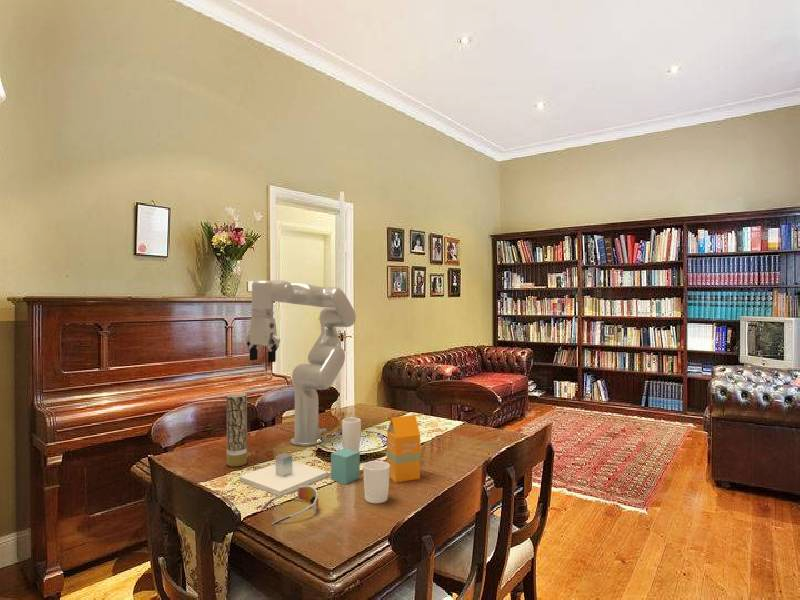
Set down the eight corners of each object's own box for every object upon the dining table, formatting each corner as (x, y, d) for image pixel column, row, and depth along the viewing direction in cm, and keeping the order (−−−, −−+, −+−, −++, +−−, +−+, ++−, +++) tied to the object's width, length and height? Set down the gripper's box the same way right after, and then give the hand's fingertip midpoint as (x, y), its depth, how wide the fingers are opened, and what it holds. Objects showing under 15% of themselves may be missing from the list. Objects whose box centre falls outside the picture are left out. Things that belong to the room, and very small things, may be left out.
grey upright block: (284, 471, 163) (284, 453, 163) (292, 473, 161) (292, 455, 161) (275, 474, 160) (275, 456, 160) (283, 477, 158) (283, 458, 158)
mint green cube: (344, 473, 165) (344, 448, 165) (359, 478, 161) (359, 451, 161) (330, 479, 160) (330, 453, 160) (345, 484, 156) (345, 457, 156)
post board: (287, 463, 174) (287, 459, 174) (327, 476, 162) (327, 471, 162) (239, 480, 158) (239, 476, 158) (280, 496, 146) (280, 491, 146)
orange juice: (386, 474, 165) (386, 415, 164) (410, 470, 168) (410, 412, 168) (395, 482, 157) (395, 420, 157) (420, 478, 161) (420, 418, 161)
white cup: (379, 506, 140) (380, 471, 139) (357, 500, 144) (357, 466, 144) (394, 497, 146) (394, 463, 146) (373, 491, 150) (373, 459, 150)
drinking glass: (363, 458, 180) (363, 418, 180) (356, 465, 173) (356, 422, 173) (346, 456, 182) (347, 416, 182) (338, 462, 176) (338, 421, 175)
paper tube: (240, 468, 170) (240, 396, 170) (222, 466, 171) (222, 395, 171) (250, 461, 176) (250, 392, 176) (233, 460, 178) (233, 391, 178)
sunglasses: (328, 513, 135) (325, 496, 135) (275, 535, 127) (272, 517, 127) (308, 495, 147) (306, 480, 147) (258, 515, 139) (256, 498, 139)
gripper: (287, 314, 178) (286, 361, 178) (254, 313, 187) (254, 358, 187) (271, 315, 171) (270, 364, 171) (238, 314, 181) (238, 360, 181)
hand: (262, 361), depth 179 cm, fingers open, 9 cm apart
